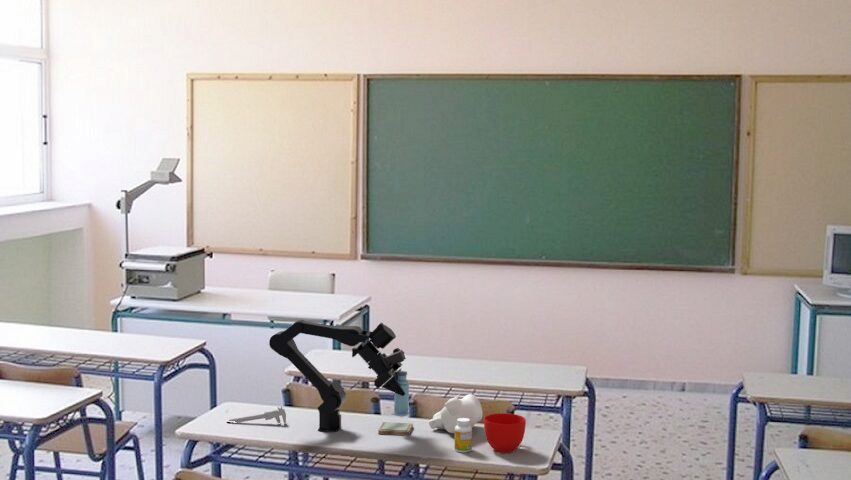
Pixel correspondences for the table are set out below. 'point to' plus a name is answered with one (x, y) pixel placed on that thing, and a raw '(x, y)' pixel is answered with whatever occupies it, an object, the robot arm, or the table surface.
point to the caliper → (264, 416)
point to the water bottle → (400, 400)
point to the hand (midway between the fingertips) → (405, 393)
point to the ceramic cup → (504, 431)
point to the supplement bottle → (463, 435)
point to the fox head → (457, 413)
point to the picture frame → (395, 428)
